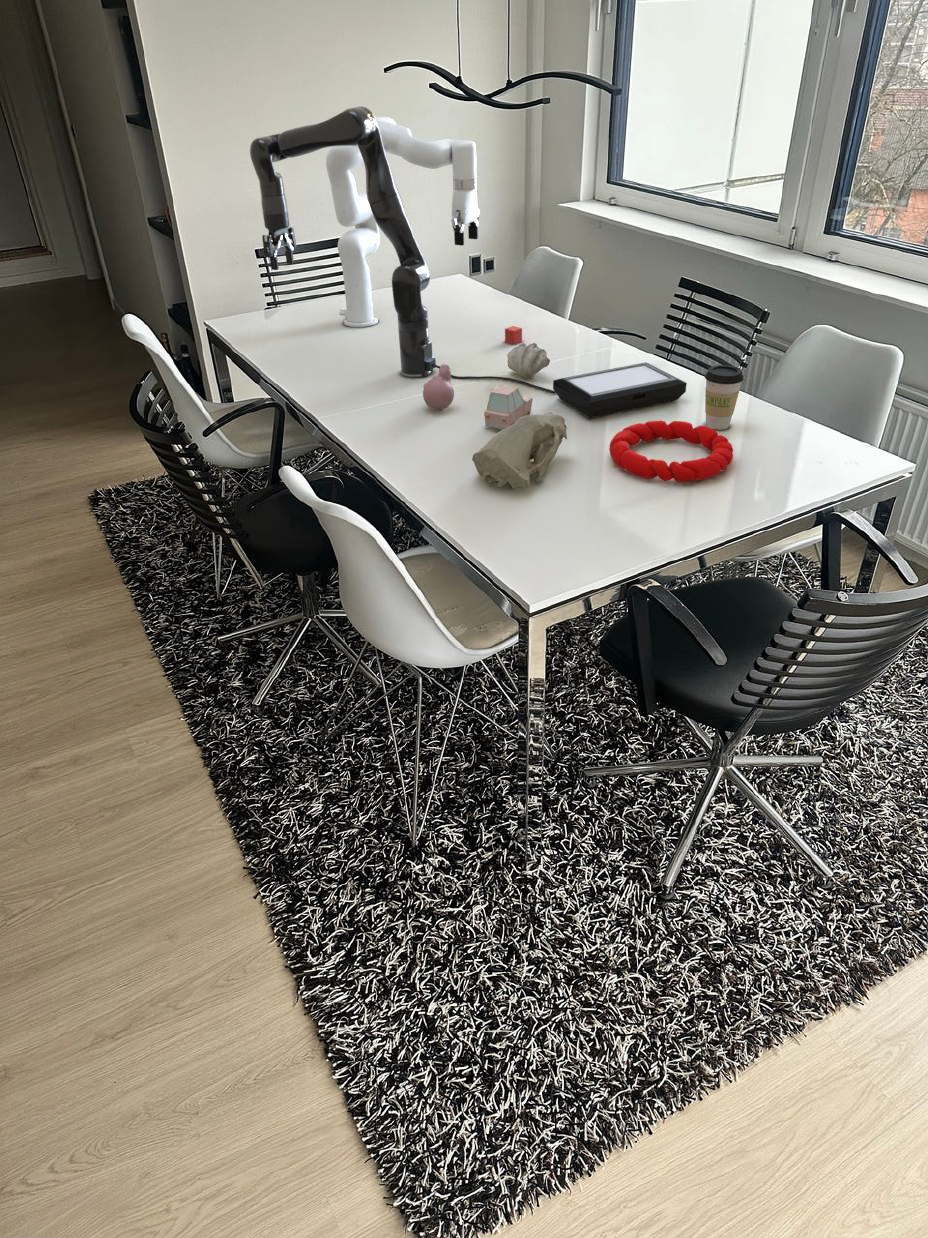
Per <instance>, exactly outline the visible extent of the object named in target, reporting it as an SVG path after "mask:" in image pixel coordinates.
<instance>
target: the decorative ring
mask: <svg viewBox="0 0 928 1238" xmlns="http://www.w3.org/2000/svg"><path fill="white" fill-rule="evenodd" d="M657 439H662V440H665V441H672V440H678V439H682V440H683V441H685V442H687V443H689V444H692V445H702V447H703V448H704V449H707V450H709V451H710V452H712V453H710V454H709V455H707V456H706V457H702V458H698V459H692V460H691V459H690V460H683V461H681V462H680V463H679V462H678V461H675V460H674V461H671V462H670V463H669V465H668V463H667V461H665V460H663V459H654V458H652V459H648V458H647V456H646V455H642V454H639V453H638V452H637V451H634V450H631V447H634V446H636V445H638V444H639V443H641V441H642V442H652V441H654V440H657ZM733 453H734V448H733V445H732V444H731V442H729V439H728V438H727V437H726V436H725V435H722V434H719V432H718V431H717V430H716V429H711V428H709V427H707V426H706V425H697V426H696V427H693V424H692V423H691V422H688V421H682V420H673V421H671V422H669V424H668V423H667V422H666V421H665V420H659V419H658V420H649V421H646V422H645V423H642V422H639V423H638V422H637V423H634V424H631V425H629V426H627V427H624V428H623V429H622V430H620V431H618V432H617V433H615V434H614V436H613V437H612V438H611V441H610V443H609V454H610V458H611V460H612V461H613V462H614V464H615V465H616V466H618V467H619V468H620V469H621V470H624V471H626V472H627V473H628V474H631V475H633V476H636V477H639V478H642V479H646V480H652V479H655V478H656V477H658V479H660V480H661V481H662V482H669V481H670V480H674V481H675V483H690V482H691V483H692V482H696V481H698V480H700V481H703V480H704V481H705V480H707V479H711V478H713V477H715V476H718V475H719V474H720V473H721V472H723V471H725V470H726V469H727V468H728V466H729V465H731V464H732V462H733V459H734V454H733Z"/></svg>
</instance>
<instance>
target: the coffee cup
mask: <svg viewBox="0 0 928 1238" xmlns="http://www.w3.org/2000/svg"><path fill="white" fill-rule="evenodd" d="M704 379H705V387H704V388H705V389H704V390H705V392H704V393H705V394H704V395H705V396H704V397H705V399H704V401H705V402H704V403H705V404H704V406H705V408H704V412H705V426H706V427H709V428H711V429H713V430H715V431H717V430H719V431H722V430H727V429H729V428H730V424H731V422H732V421H731V420H732V418H733V415H734V413H735V408H736V404H737V401H738V397H739V394H740V390H741V389H740V387H741V384H742V382H743V381H744V379H745V377H744V374H743V370H742V369H741V368H739V367H738V366H734V365H728V364H717V365H712V366H710V367H708V369H707V372H705V374H704Z"/></svg>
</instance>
